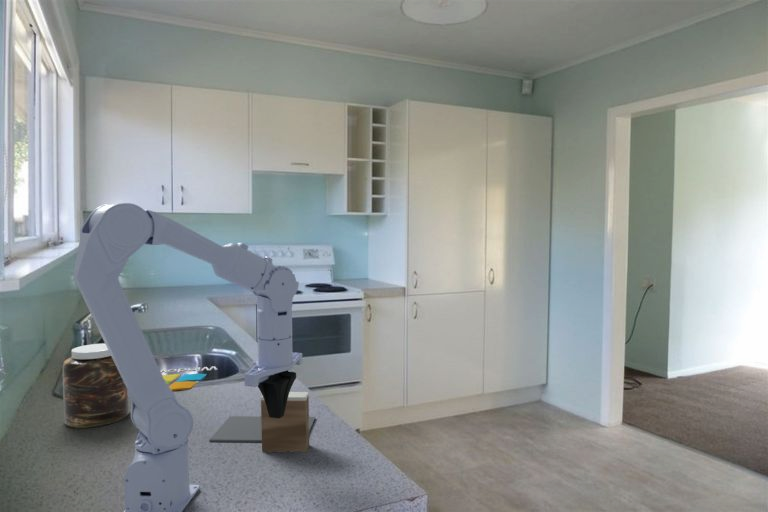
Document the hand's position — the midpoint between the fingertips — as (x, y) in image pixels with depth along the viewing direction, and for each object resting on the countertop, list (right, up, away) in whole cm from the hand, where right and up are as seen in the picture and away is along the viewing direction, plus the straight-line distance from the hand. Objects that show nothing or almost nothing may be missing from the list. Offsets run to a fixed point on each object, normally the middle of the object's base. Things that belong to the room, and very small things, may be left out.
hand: (276, 416), depth 91 cm
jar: (-42, -7, +23) cm, 49 cm away
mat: (-5, -7, +16) cm, 19 cm away
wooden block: (0, -8, +7) cm, 11 cm away
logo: (-37, -6, +50) cm, 62 cm away
